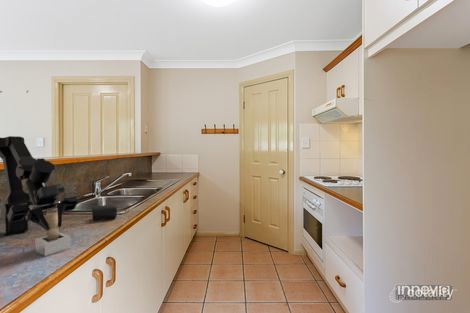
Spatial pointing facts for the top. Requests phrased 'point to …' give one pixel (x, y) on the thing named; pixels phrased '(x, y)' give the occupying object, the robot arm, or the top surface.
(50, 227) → the slotted cylinder
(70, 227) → the top surface
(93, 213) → the end cap
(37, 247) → the socket block
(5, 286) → the top surface
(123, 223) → the top surface
